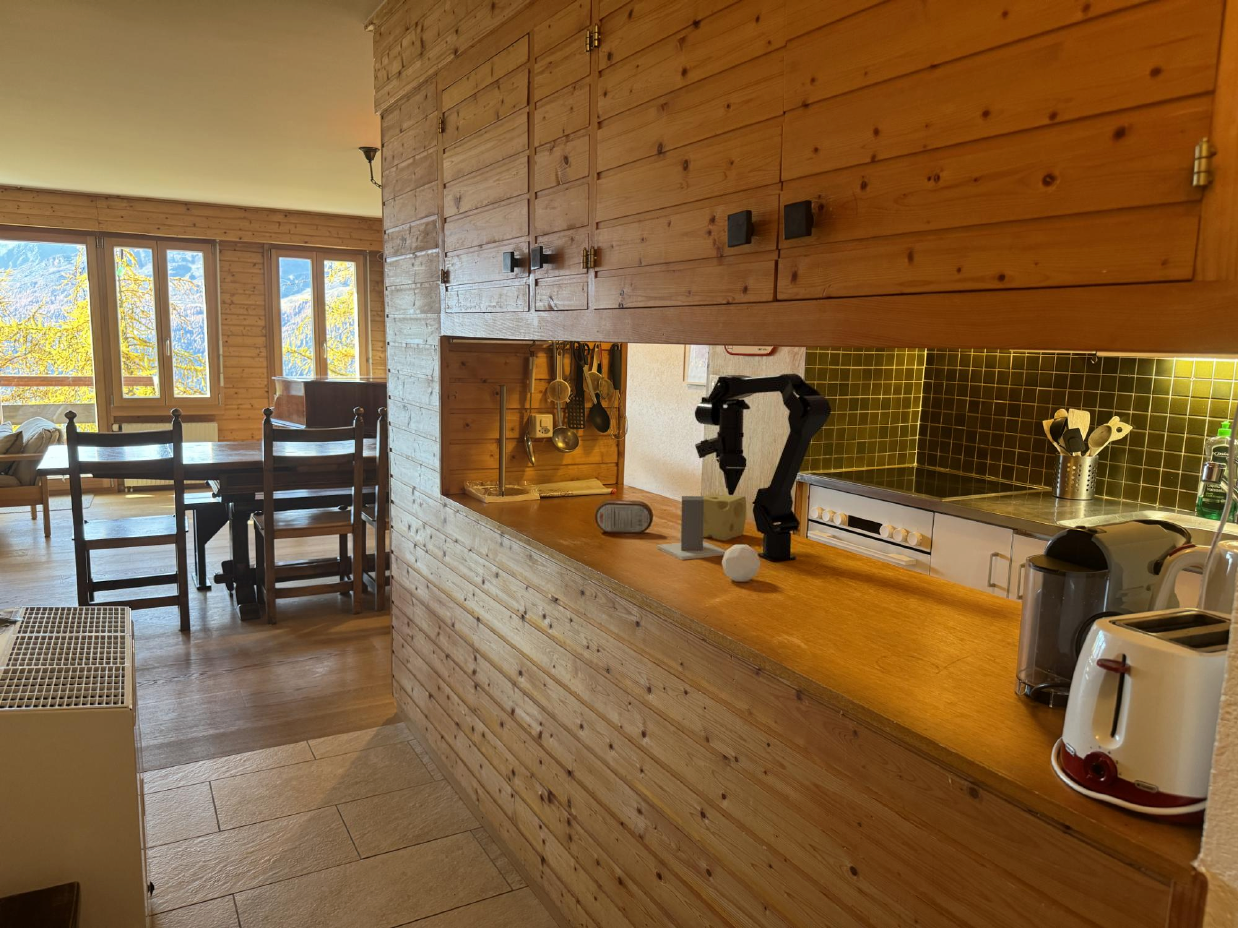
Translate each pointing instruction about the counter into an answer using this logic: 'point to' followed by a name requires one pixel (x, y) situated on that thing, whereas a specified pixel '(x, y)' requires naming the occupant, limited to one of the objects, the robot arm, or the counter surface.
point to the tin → (623, 516)
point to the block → (692, 523)
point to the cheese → (724, 516)
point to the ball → (741, 563)
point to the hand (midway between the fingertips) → (729, 491)
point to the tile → (676, 551)
